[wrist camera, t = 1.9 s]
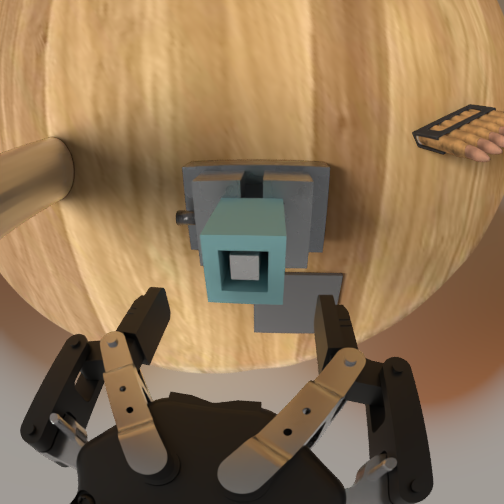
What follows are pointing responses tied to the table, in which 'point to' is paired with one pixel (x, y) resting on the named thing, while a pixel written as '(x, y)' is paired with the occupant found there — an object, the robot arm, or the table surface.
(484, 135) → the ammunition clip
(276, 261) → the sleeve
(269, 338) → the table surface
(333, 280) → the mat
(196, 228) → the vise
